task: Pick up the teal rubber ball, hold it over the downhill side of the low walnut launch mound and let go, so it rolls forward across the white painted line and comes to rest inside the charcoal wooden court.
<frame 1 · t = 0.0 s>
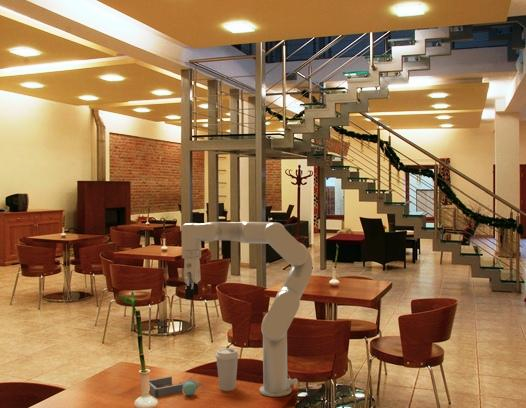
hand: (192, 297, 215), 37 cm above the table, tool pointing down, fingers open, 9 cm apart
coffee cup: (227, 388, 218), on the table
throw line: (169, 388, 218), on the table
court: (163, 390, 217), on the table
ball: (189, 388, 211), point 2 cm above the table
launch mound: (190, 384, 223), on the table
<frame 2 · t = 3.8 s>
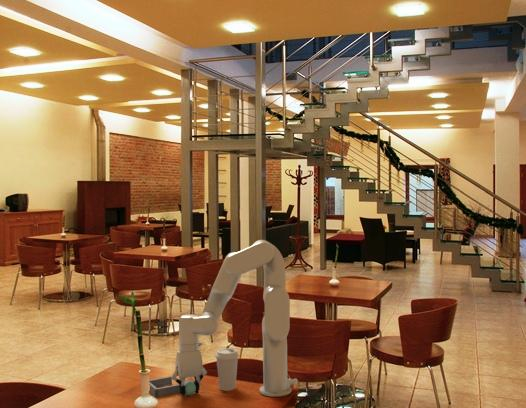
hand: (189, 393, 211), 1 cm above the table, tool pointing down, fingers closed on ball, 4 cm apart
ball: (189, 388, 211), point 2 cm above the table, touching gripper
everything else where it was.
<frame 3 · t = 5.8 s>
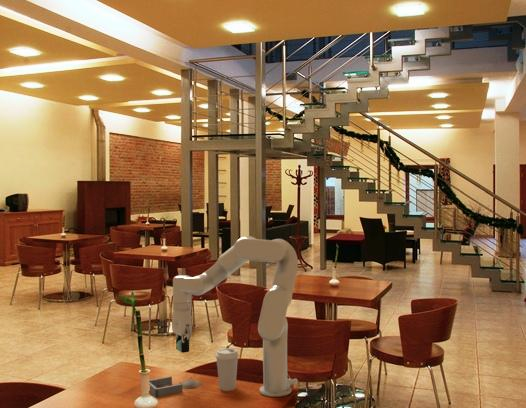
hand: (182, 350, 221), 15 cm above the table, tool pointing down, fingers closed on ball, 4 cm apart
ball: (182, 345, 221), point 17 cm above the table, touching gripper
everything else where it was.
when the fingers open (3 cm above the table, at t = 7.8 s): ball drops 3 cm and tips over, point 2 cm above the table.
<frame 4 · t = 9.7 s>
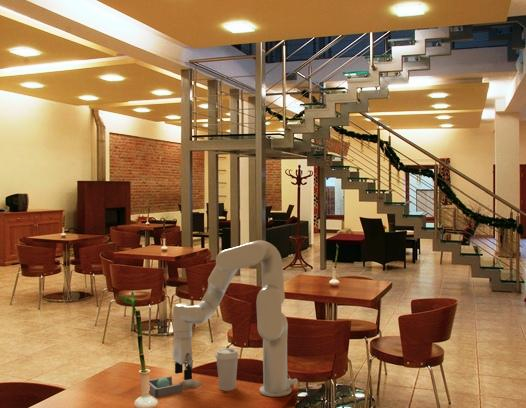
hand: (183, 376, 221), 4 cm above the table, tool pointing down, fingers open, 9 cm apart
ball: (163, 384, 216), point 2 cm above the table, tilted 140°
everything else where it was.
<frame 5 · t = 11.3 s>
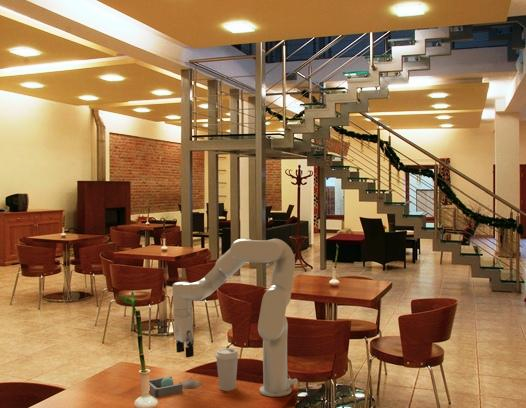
hand: (185, 354, 221), 13 cm above the table, tool pointing down, fingers open, 9 cm apart
ball: (167, 383, 217), point 2 cm above the table, tilted 175°
everything else where it was.
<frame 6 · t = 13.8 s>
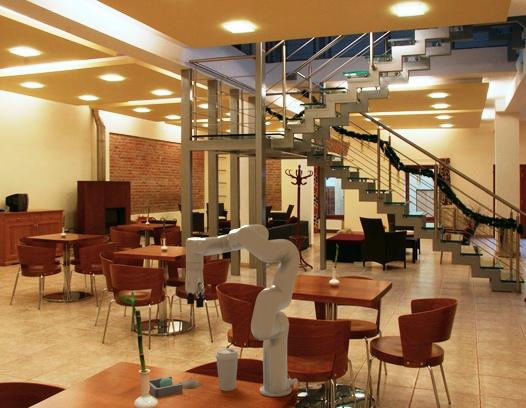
hand: (195, 305, 235), 30 cm above the table, tool pointing down, fingers open, 9 cm apart
ball: (166, 383, 217), point 2 cm above the table, tilted 167°
everything else where it was.
at the end: ball inside the target area (3.2 cm from its centre), point 2.5 cm above the table; the gripper is holding nothing; ball point 2.5 cm above the table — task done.
